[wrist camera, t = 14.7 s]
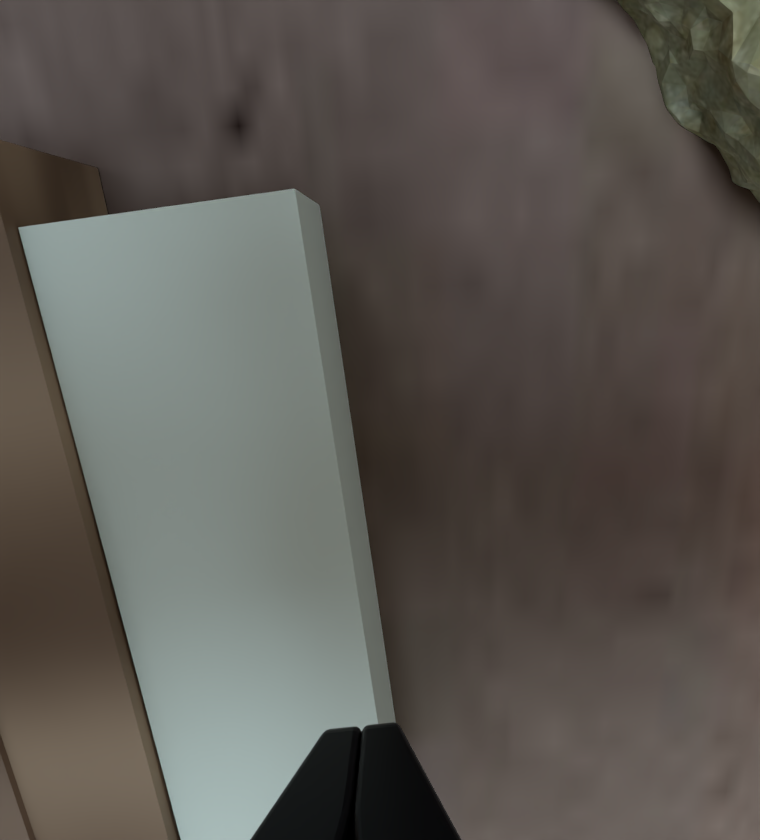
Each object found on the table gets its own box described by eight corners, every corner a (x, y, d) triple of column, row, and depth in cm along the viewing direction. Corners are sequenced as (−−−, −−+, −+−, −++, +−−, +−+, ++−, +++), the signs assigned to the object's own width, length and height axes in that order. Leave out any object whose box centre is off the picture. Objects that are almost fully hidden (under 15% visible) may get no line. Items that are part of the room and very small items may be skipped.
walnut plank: (-174, 205, 14) (-410, 186, 10) (97, 168, 13) (-28, 132, 9) (26, 804, 18) (-81, 966, 14) (236, 783, 17) (192, 943, 13)
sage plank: (398, 738, 17) (402, 878, 13) (238, 754, 18) (195, 896, 14) (320, 205, 14) (294, 188, 10) (120, 233, 14) (18, 227, 10)
